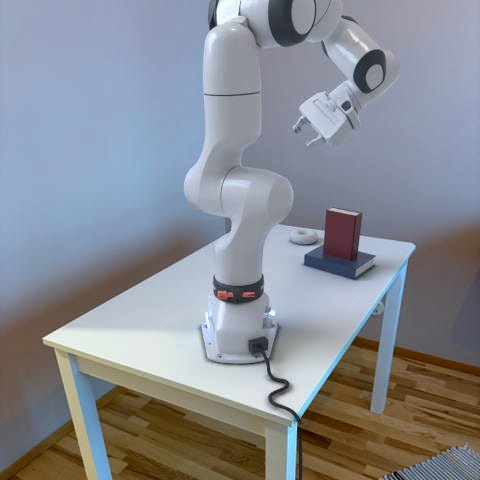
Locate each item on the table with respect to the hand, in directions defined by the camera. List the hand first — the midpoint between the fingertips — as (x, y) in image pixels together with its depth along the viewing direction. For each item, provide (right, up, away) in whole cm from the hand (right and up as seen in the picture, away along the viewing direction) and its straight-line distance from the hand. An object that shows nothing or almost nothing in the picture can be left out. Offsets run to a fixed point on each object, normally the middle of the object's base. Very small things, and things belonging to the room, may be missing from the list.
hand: (300, 138), depth 128 cm
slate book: (+15, -33, +19) cm, 41 cm away
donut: (+6, -22, +38) cm, 45 cm away
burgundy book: (+15, -30, +17) cm, 37 cm away
